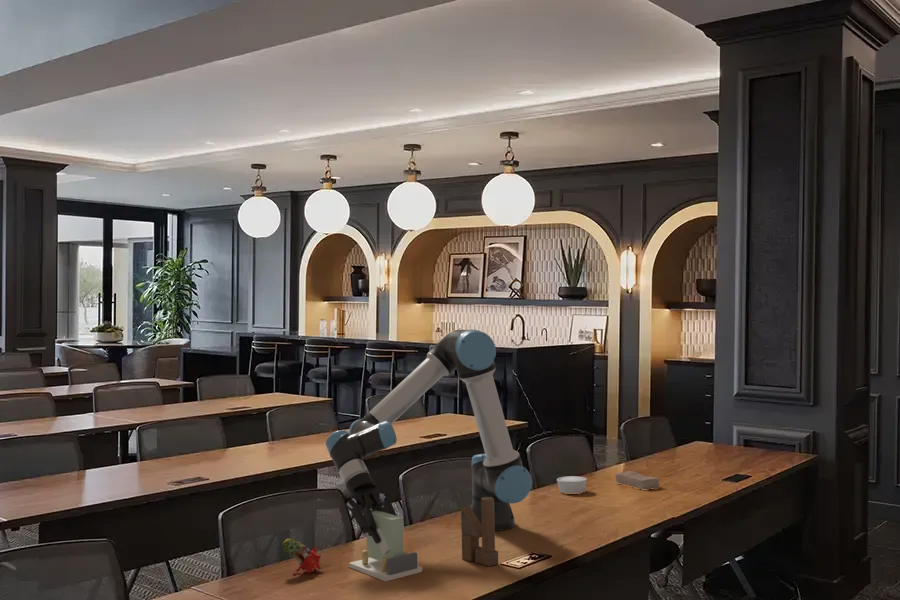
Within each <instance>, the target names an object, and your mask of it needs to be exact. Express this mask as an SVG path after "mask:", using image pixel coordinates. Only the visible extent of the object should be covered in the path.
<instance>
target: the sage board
mask: <svg viewBox="0 0 900 600" xmlns="http://www.w3.org/2000/svg"><path fill="white" fill-rule="evenodd" d="M371 512H372V515H373V518H374V521H375V525H376V530H377V529H379V528H380V530H381V532H382V534H383V536H384V538H385V540H386V542H387V544H388V546H389V548H390V550H389V551H388V553H387V554H386V555H383V553H382V551H381V549H380V547H379V545H378V544H376V543H375V541H374V539H373V537H372V536H369V535H368V533H366V550H368V558H373V559H376V560H379V561H381V558H382V557H387V559H389V558H393V557H397V556H401V555H403V552H404V524H403V523H404V520H403V519H404V517H401V516H398V515H397V516H395V515H392V514H388V513H385V512H381V511H376V510H375V511H373V510H371Z"/></svg>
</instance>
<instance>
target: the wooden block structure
mask: <svg viewBox="0 0 900 600" xmlns="http://www.w3.org/2000/svg"><path fill="white" fill-rule="evenodd" d="M460 518H461V519H460V520H461V523H460V524H461V527H460V529H461V558H462V560H464V561H469V562H473V561H475V563H476V564H480V565H484V566H487V567H492V566H496V565H498V564H499V551H498V550H496V534H495V533H496V531H495V520H494V498H492V497H483V498H481V522H482V524H481V523H480V521H479V520H478V518H477V517H476V515H475V513H474V512H473V510H472V509H471V506H465V507H462V508H460ZM480 538H481V546H480Z"/></svg>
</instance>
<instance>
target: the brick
mask: <svg viewBox="0 0 900 600" xmlns="http://www.w3.org/2000/svg"><path fill="white" fill-rule="evenodd" d="M616 482H618V483H622V484H625V485H629V486H633V487H637V488H640V489H651V488H659V489H660V483H659V482H660V480H659V478H658V477H654V476H648V475H644V474H641V473H639V472H637V471H633V470H628V471H627V470H626V471H623V472H617V473H615V483H616Z"/></svg>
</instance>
